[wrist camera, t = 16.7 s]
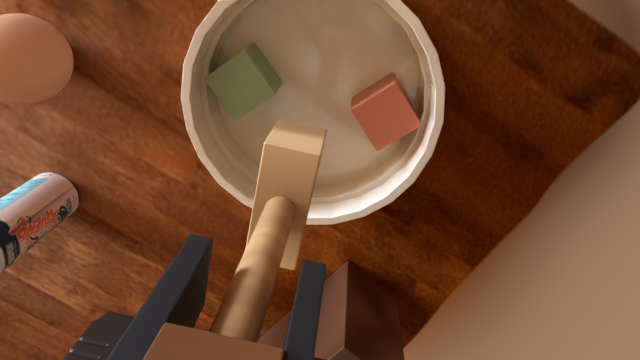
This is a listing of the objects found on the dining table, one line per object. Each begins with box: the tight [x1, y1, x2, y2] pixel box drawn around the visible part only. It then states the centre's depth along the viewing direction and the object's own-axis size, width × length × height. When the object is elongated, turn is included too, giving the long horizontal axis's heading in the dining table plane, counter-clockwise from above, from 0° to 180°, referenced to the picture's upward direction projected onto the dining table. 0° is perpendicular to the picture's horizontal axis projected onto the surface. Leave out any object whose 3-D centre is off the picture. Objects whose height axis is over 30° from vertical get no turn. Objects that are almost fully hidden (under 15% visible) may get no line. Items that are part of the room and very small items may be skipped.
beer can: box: [0, 173, 79, 273], centre depth 41 cm, size 5×5×12 cm
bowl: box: [181, 0, 445, 225], centre depth 38 cm, size 19×19×6 cm
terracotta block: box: [350, 72, 422, 151], centre depth 38 cm, size 4×4×4 cm
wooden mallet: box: [143, 119, 327, 360], centre depth 17 cm, size 6×3×17 cm, turn 168°
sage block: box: [204, 42, 283, 121], centre depth 38 cm, size 4×4×4 cm
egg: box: [0, 14, 74, 104], centre depth 37 cm, size 7×7×9 cm
